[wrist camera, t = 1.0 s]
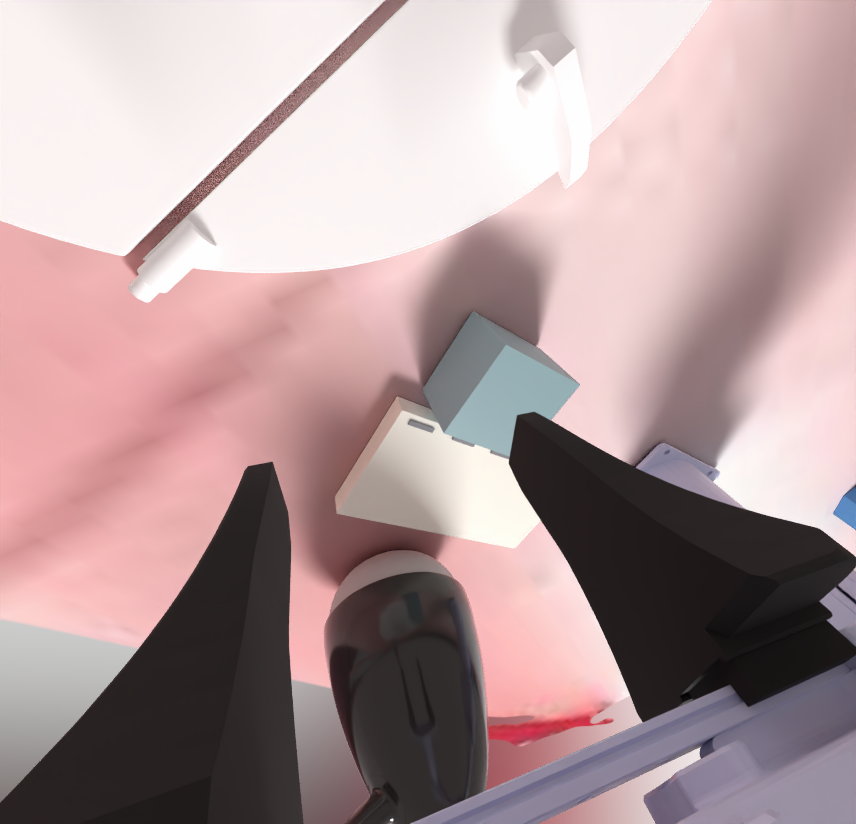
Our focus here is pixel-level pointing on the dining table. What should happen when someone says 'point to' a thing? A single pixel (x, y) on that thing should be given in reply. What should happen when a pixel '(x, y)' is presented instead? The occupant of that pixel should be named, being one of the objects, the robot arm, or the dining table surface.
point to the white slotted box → (435, 482)
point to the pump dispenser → (408, 686)
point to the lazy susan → (305, 120)
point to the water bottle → (847, 508)
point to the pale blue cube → (493, 385)
